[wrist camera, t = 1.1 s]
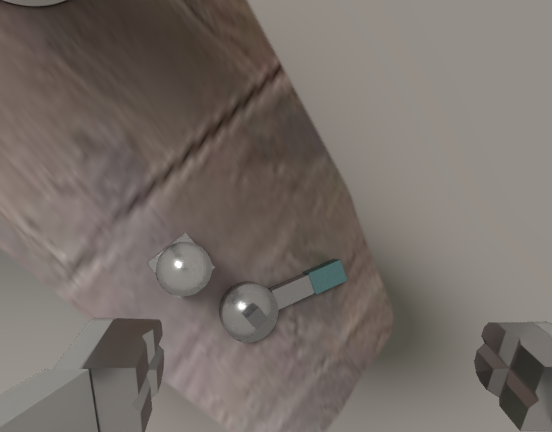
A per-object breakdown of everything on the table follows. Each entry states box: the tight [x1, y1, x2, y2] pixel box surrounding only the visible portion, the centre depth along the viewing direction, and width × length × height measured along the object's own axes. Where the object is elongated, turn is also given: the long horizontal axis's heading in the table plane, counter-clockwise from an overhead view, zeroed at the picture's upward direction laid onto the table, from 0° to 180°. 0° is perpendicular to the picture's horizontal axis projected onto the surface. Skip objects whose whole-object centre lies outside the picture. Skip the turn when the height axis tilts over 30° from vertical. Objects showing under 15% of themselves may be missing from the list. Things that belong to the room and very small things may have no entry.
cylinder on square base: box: [147, 233, 215, 299], centre depth 37 cm, size 5×5×9 cm
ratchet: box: [219, 259, 347, 343], centre depth 42 cm, size 18×7×6 cm, turn 110°
